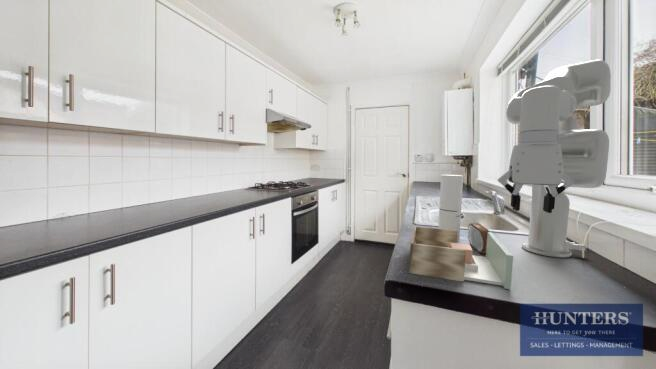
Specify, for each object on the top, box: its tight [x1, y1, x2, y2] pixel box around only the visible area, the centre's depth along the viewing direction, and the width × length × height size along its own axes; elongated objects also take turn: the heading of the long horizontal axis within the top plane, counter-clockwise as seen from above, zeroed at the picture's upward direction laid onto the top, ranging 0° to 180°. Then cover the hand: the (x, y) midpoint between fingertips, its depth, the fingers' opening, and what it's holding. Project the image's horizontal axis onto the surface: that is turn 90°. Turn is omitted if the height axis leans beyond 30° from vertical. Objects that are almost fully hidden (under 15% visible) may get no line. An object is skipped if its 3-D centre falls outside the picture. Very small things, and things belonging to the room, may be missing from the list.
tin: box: [467, 222, 490, 255], centre depth 86 cm, size 15×3×8 cm, turn 168°
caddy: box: [409, 226, 466, 282], centre depth 74 cm, size 13×20×8 cm, turn 158°
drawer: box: [464, 231, 514, 290], centre depth 70 cm, size 13×21×8 cm, turn 158°
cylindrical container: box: [437, 174, 464, 244], centre depth 92 cm, size 7×7×25 cm
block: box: [450, 242, 473, 264], centre depth 71 cm, size 5×5×5 cm
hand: (531, 210), depth 65 cm, fingers open, 5 cm apart
